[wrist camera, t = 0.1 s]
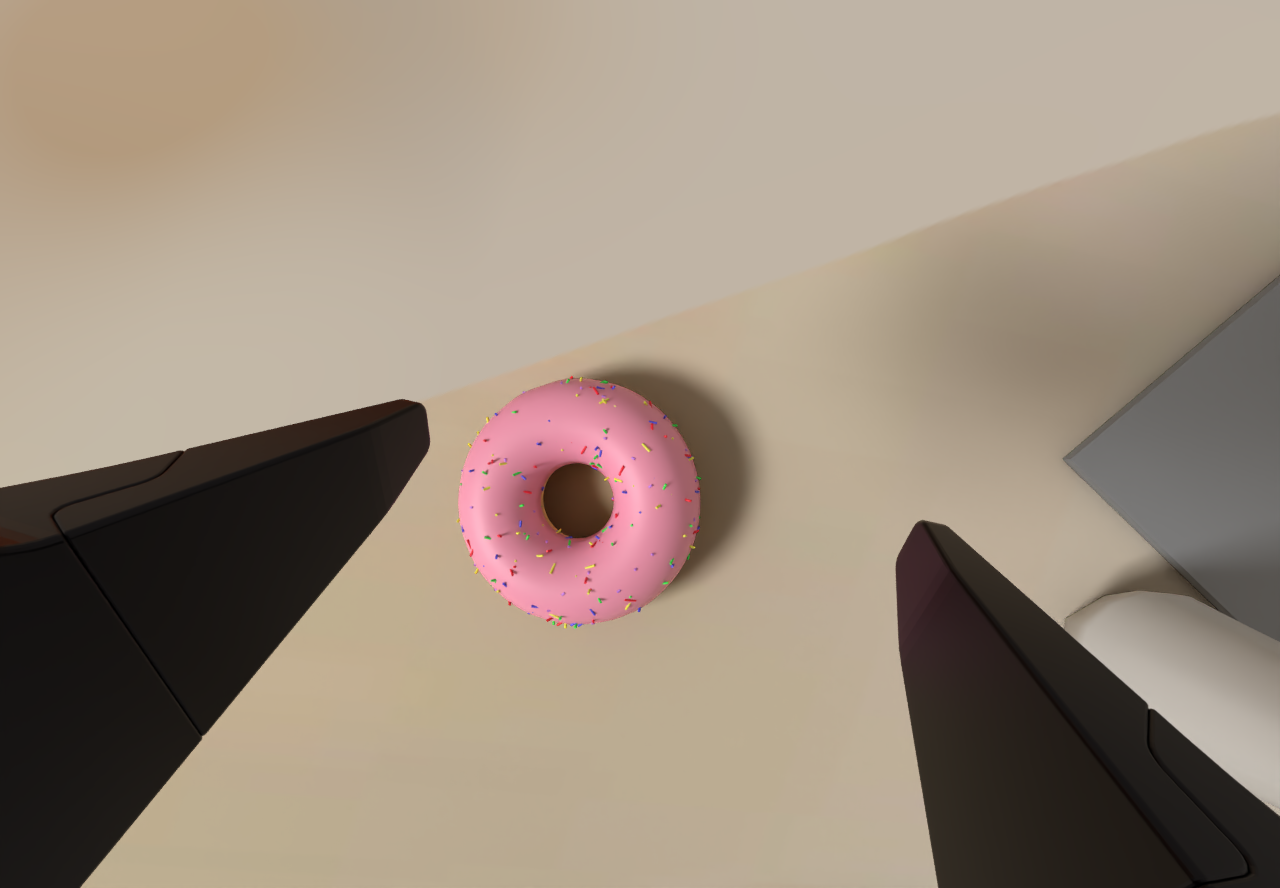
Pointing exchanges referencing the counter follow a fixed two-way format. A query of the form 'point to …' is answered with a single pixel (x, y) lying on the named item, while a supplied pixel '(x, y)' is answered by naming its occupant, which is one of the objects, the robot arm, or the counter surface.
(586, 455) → the doughnut
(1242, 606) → the mat
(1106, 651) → the salt shaker
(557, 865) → the counter surface
